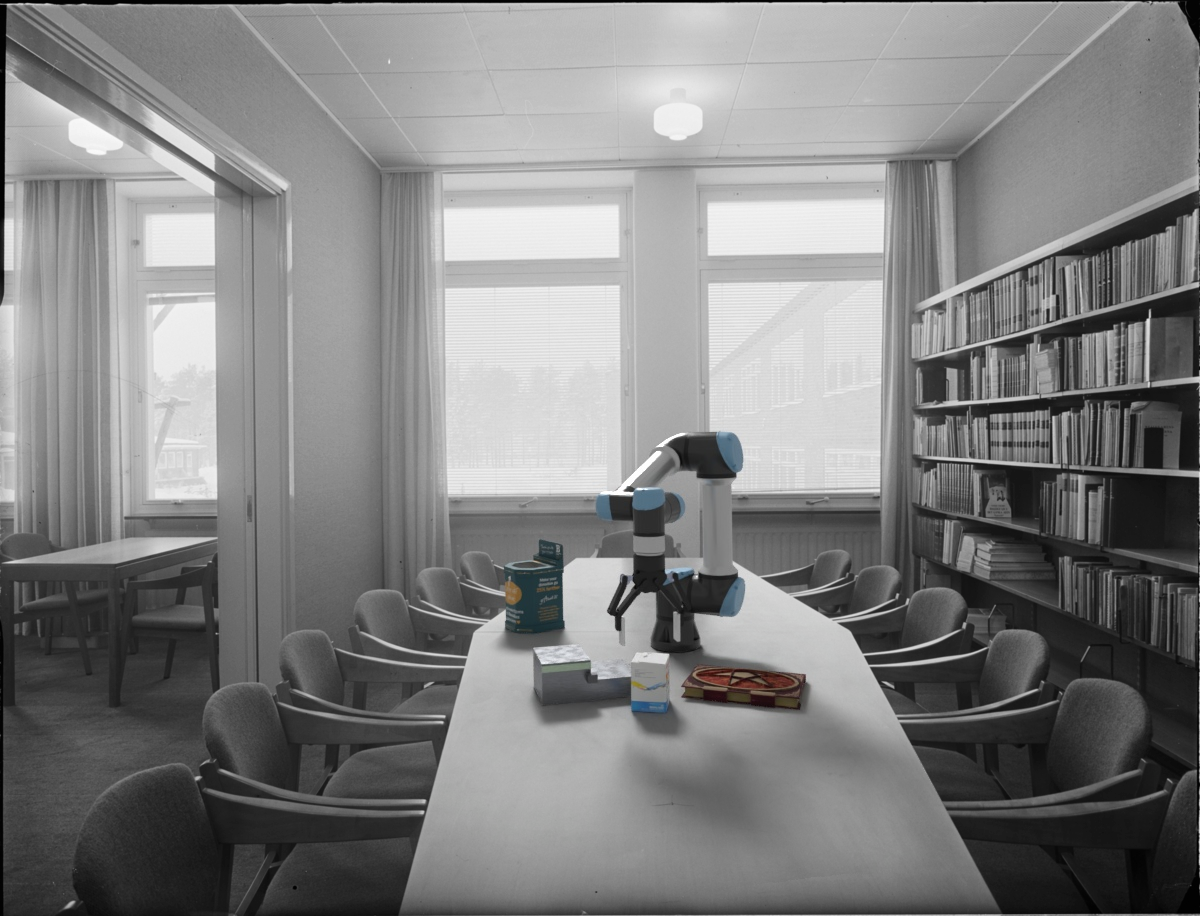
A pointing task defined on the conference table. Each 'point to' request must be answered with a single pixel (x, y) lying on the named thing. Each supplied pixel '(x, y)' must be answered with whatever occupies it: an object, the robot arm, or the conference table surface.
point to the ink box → (650, 682)
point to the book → (745, 686)
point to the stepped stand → (577, 676)
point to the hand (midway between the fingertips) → (649, 642)
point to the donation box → (535, 591)
